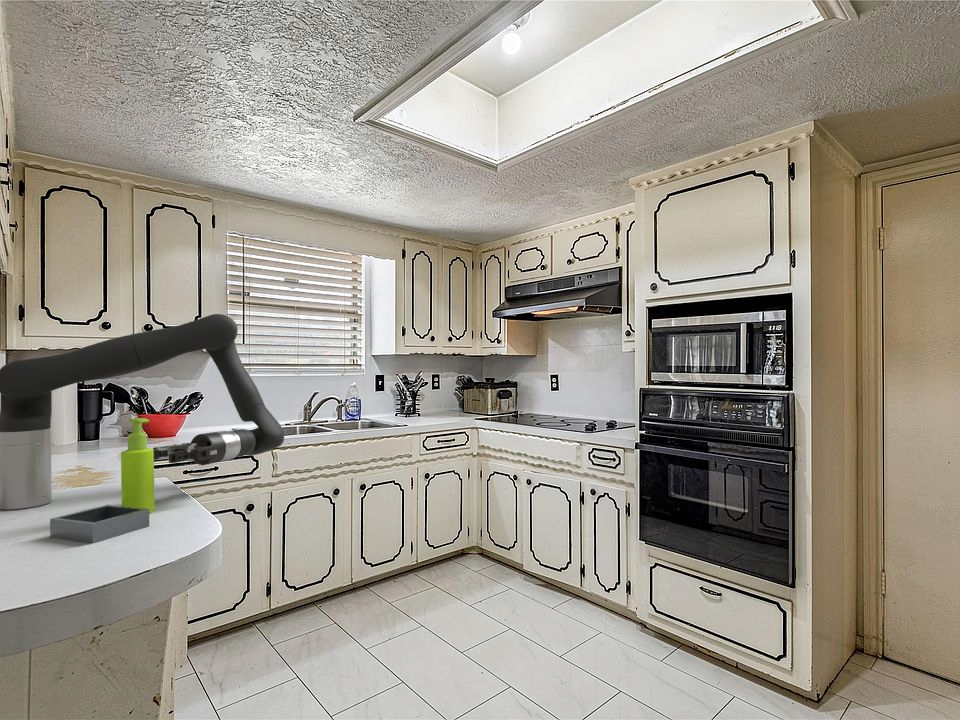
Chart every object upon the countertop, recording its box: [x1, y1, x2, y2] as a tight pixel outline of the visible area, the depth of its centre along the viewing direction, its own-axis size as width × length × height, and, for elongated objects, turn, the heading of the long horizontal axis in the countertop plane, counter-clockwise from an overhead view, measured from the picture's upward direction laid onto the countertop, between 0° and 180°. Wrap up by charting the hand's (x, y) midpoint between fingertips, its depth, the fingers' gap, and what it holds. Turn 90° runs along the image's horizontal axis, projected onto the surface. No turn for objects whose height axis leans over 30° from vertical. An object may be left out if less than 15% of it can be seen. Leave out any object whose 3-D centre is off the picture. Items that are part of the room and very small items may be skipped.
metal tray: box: [49, 504, 150, 544], centre depth 102 cm, size 12×11×3 cm
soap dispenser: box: [120, 417, 155, 514], centre depth 115 cm, size 6×7×20 cm
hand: (155, 457), depth 119 cm, fingers open, 8 cm apart
